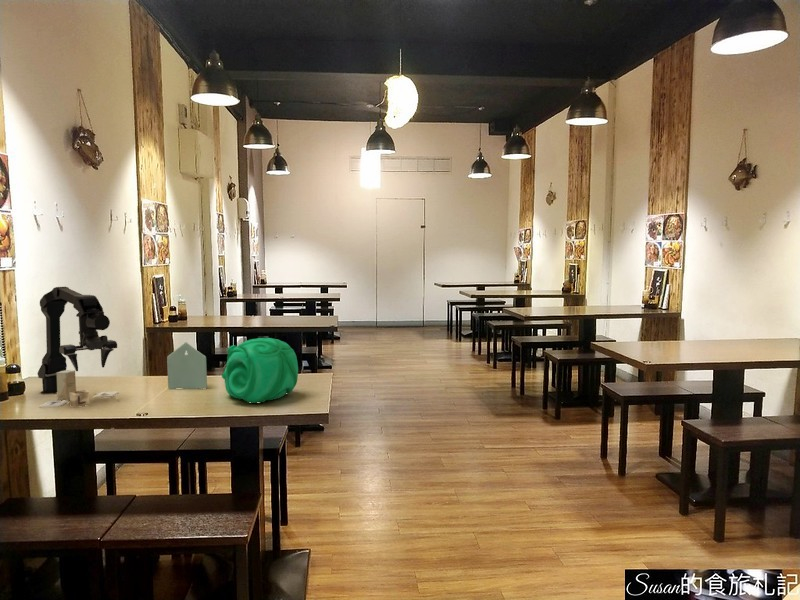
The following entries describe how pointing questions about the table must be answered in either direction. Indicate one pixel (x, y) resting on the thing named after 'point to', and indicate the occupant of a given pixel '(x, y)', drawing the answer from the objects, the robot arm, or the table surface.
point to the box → (65, 384)
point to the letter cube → (79, 398)
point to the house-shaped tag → (186, 368)
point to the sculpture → (260, 370)
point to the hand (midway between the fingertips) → (90, 369)
